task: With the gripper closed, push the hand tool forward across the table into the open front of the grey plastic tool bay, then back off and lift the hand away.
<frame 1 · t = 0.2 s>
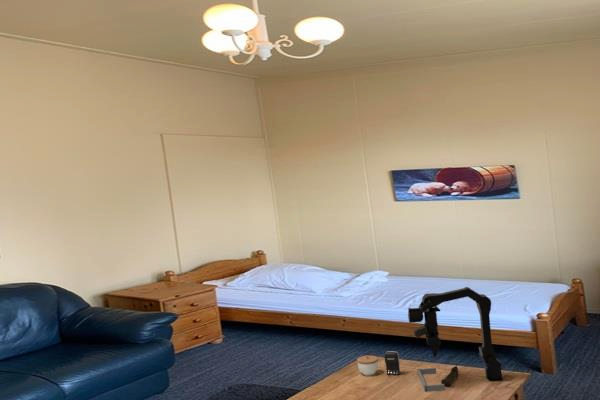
hand: (434, 353, 278), 14 cm above the table, tool pointing down, fingers open, 9 cm apart
tool bay: (431, 381, 281), on the table
lidded jar: (368, 374, 301), on the table
battery charger: (393, 374, 296), on the table
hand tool: (450, 381, 280), on the table
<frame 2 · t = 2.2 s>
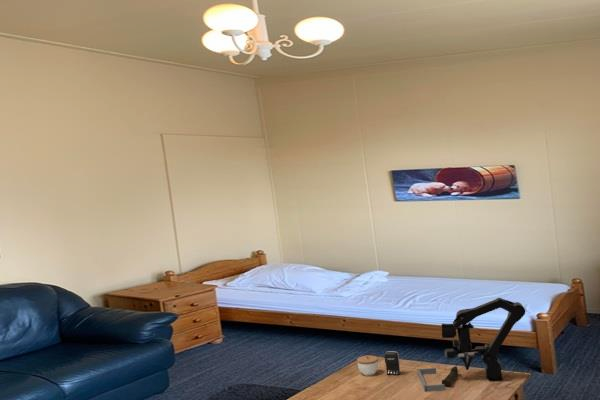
hand: (467, 369, 280), 4 cm above the table, tool pointing down, fingers closed
nothing on the table moved.
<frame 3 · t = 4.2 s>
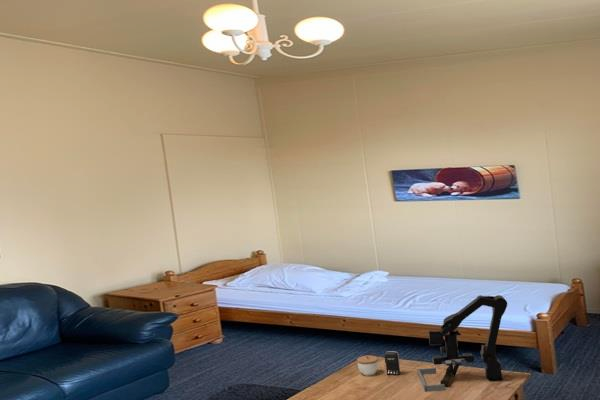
hand: (454, 376, 280), 2 cm above the table, tool pointing down, fingers closed
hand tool: (447, 381, 281), on the table, touching gripper
everything else where it was.
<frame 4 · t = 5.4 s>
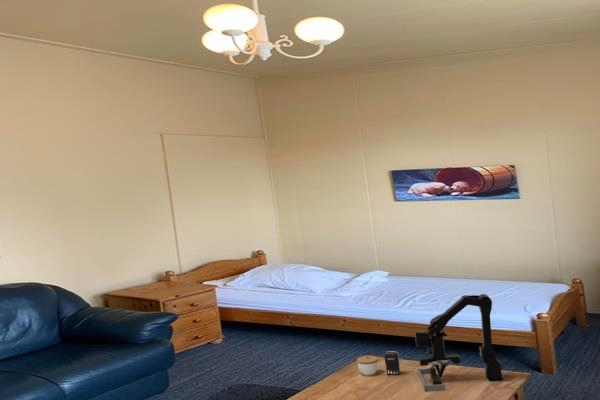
hand: (440, 377, 280), 2 cm above the table, tool pointing down, fingers closed
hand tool: (433, 381, 282), on the table, touching gripper
everything else where it was.
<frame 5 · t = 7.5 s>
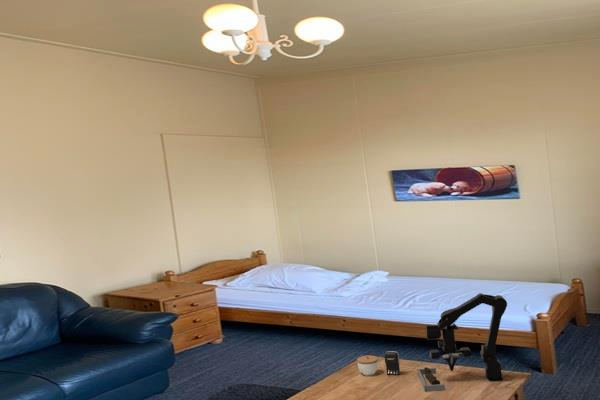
hand: (451, 370, 280), 5 cm above the table, tool pointing down, fingers closed
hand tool: (430, 382, 281), on the table
everything else where it was.
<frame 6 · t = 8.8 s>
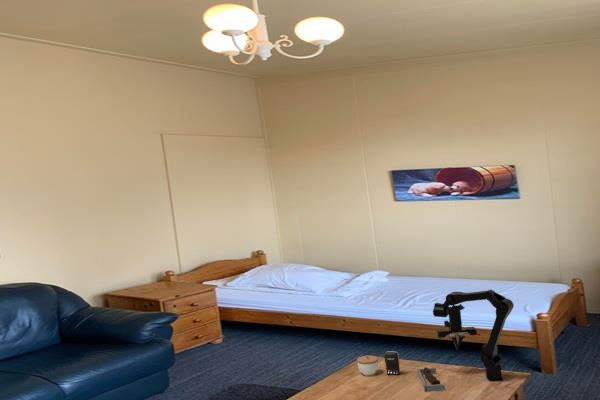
hand: (457, 349, 287), 12 cm above the table, tool pointing down, fingers closed
nothing on the table moved.
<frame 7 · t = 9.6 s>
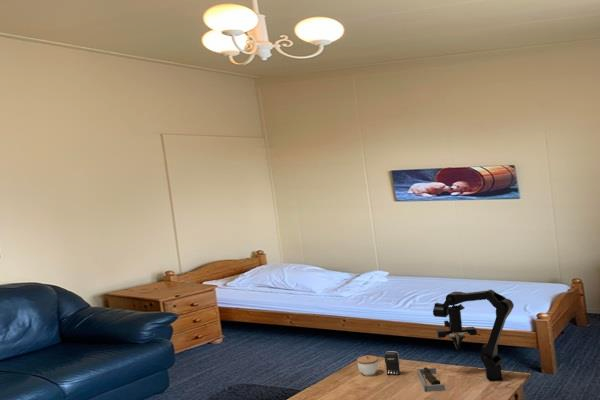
hand: (457, 349, 287), 12 cm above the table, tool pointing down, fingers closed
nothing on the table moved.
at the end: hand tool inside the target area on the tool bay (1.5 cm from its centre), point -0.5 cm above the tool bay's base; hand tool moved 9.9 cm from its start; the gripper is holding nothing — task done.
